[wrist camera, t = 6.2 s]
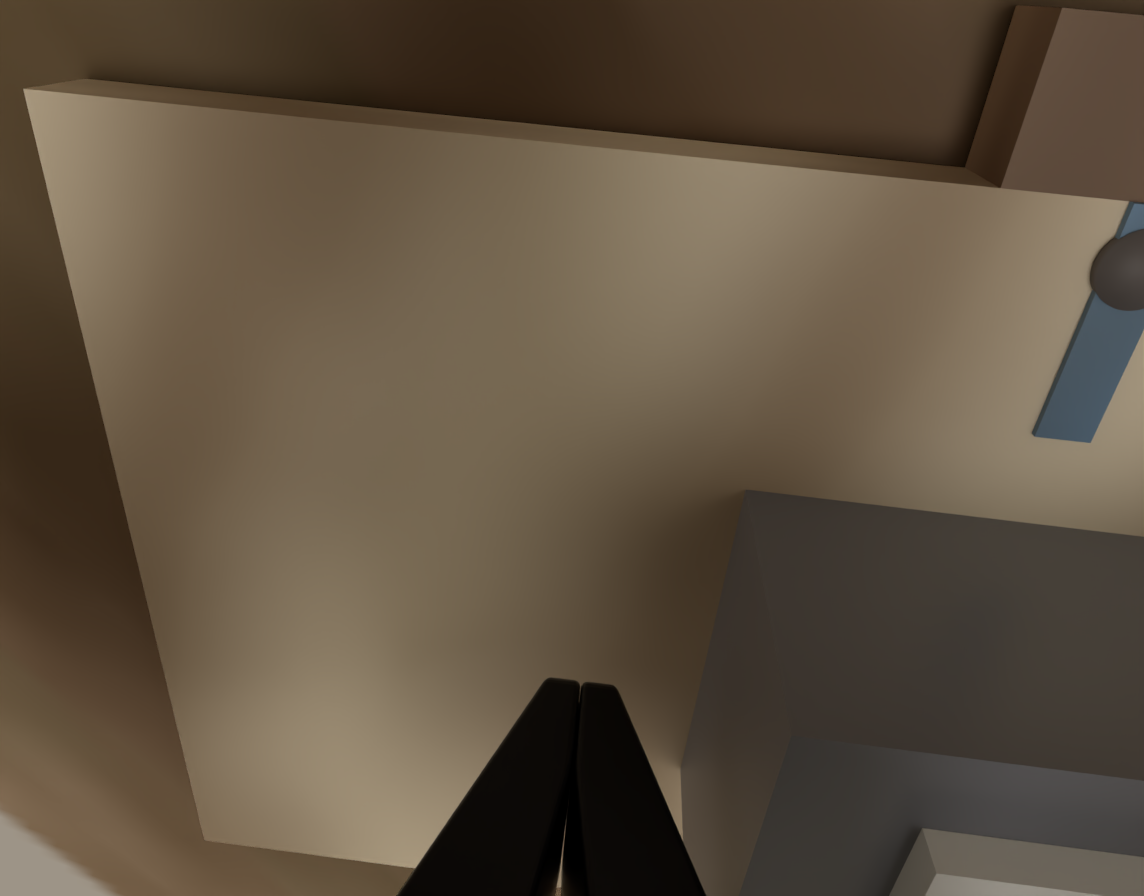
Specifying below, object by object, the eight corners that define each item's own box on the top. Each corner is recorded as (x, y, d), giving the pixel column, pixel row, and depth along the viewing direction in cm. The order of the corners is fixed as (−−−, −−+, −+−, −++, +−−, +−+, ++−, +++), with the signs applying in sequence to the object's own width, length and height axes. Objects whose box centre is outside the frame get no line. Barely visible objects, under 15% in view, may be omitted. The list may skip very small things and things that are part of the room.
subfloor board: (1723, 71, 7) (1884, 84, 6) (1079, 952, 15) (1109, 1018, 14) (51, -87, 8) (-32, -97, 7) (240, 840, 16) (212, 897, 15)
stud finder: (1353, 560, 9) (1771, 904, 6) (1157, 831, 12) (1367, 1183, 8) (745, 489, 9) (799, 777, 6) (679, 769, 12) (691, 1087, 9)
